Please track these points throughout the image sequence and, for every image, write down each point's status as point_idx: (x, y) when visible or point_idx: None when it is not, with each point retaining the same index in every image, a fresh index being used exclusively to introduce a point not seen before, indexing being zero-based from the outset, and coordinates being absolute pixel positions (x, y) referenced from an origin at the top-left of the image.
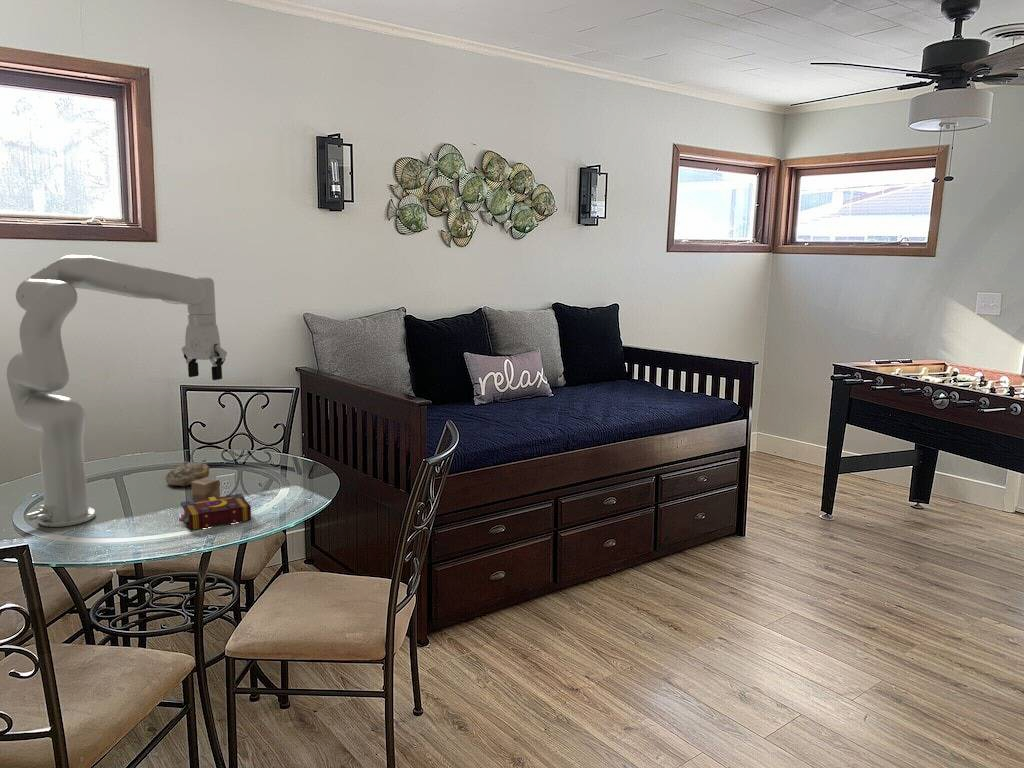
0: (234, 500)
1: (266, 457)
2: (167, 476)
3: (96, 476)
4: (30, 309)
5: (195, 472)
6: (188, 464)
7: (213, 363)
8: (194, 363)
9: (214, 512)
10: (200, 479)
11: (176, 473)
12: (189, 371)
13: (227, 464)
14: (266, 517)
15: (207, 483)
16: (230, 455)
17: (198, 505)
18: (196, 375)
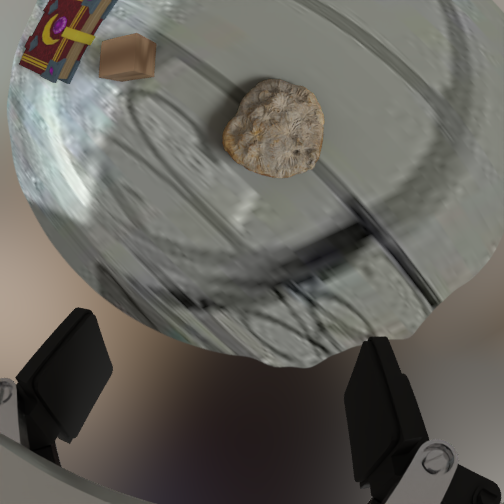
0: (44, 57)
1: (267, 337)
2: (303, 90)
3: (471, 97)
4: None
5: (242, 123)
6: (287, 141)
7: (3, 405)
8: (375, 471)
9: (43, 16)
10: (132, 53)
11: (276, 93)
12: (384, 371)
13: (303, 272)
14: (28, 88)
15: (102, 49)
16: (343, 320)
17: (73, 7)
18: (349, 385)
